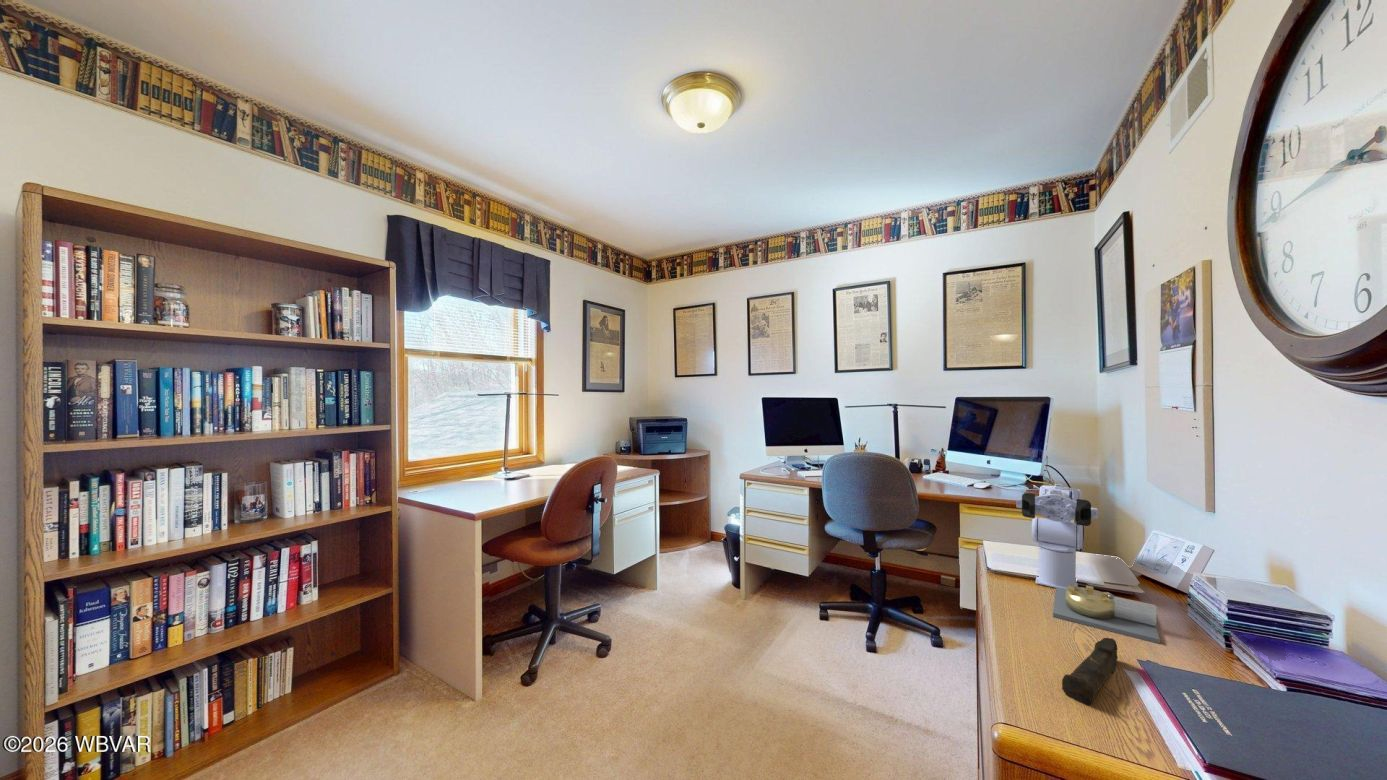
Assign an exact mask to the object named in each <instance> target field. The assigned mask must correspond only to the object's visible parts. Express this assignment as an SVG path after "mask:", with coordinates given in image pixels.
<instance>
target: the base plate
mask: <svg viewBox="0 0 1387 780" xmlns="http://www.w3.org/2000/svg"><path fill="white" fill-rule="evenodd" d="M1054 592H1055V593H1054V600H1053V601H1054V603H1053V609H1052V610H1053V611H1052V617H1053V618H1056V619H1060V620H1064V621H1065V620H1066V621H1068V622H1073V623H1077V624H1081V625H1085V626H1087V627H1093V628H1096V629H1101V630H1104V631H1108V632H1113V633H1116V634H1120V635H1124V636H1128V637H1132V638H1135V639H1138V640H1142V641H1143V640H1144V641H1148V642H1151V643H1155V644H1161V643H1160V642H1161V641H1160V635H1159V633H1158V632H1159V631H1158V629H1157V625H1156V626H1153V625H1149V624H1145V623H1141V622H1136V621H1132V620H1128V619H1124V618H1119V617H1114V618H1109V619H1102V618H1095V617H1090V616H1087V615H1083V614H1080V613H1078V612H1076V611H1074V610H1072V609H1070V608H1069V607H1067V605H1066V589H1063V588H1059V587H1056V588H1055V591H1054Z"/></svg>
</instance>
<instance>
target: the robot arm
mask: <svg viewBox="0 0 1387 780" xmlns="http://www.w3.org/2000/svg"><path fill="white" fill-rule="evenodd" d="M1038 494H1039V495H1038V496H1036V494H1035V493H1030V492H1025V493H1023V494H1022V495H1021V498H1019V497H1018V498H1016V500H1015V501H1016V502H1015V503H1016V508H1017V509H1021V514H1022V517H1025V518H1029V519H1032V520H1031V540H1032V541H1033V542H1034V543H1037V547H1038V570H1039V571H1038V570H1037V572H1038V576H1039V577H1037V576H1036V578H1035V584H1038V585H1041V586H1046V587H1050V588H1054V589H1056V587H1059V588H1063V589H1067V588H1068V585H1071V584H1072V585H1074V586H1077V587H1079V586H1078V585H1079V584H1078V583H1079V582H1078V583H1076V578H1077V576H1076V575H1077V574H1076V572H1077V571H1076V569H1077V568H1076V567H1077V565H1076V563H1077V562H1076V559H1077V557H1076V556H1077V554H1076V553H1077V550H1078V551H1081V549H1083V547H1084V546H1083V545H1084V544H1083V543H1084V539H1083V538H1084V537H1083V536H1084V534H1083V533H1084V531H1083V530H1084V527H1089V526H1091V523H1092V519H1097V520H1098V519H1099V517H1098V516H1099V511H1098V508H1096V507H1092V503H1091V502H1090V501H1089V500H1087V499H1083V492H1082V490H1081V489H1079V488H1073V487H1067V486H1064V485H1063V484H1059V483H1055V484H1054V485H1040V487H1039V492H1038ZM1036 515H1038V516H1040V517H1038V516H1036ZM1042 517H1043V518H1042ZM1071 521H1075V522H1071Z"/></svg>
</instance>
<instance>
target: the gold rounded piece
mask: <svg viewBox="0 0 1387 780" xmlns="http://www.w3.org/2000/svg"><path fill="white" fill-rule="evenodd" d="M1066 605H1067V607H1069V608H1070V609H1072V610H1074V611H1076V612H1078V613H1080V614H1083V615H1087V616H1090V617H1095V618H1102V619H1109V618H1114V617H1119V618H1124V619H1128V620H1132V621H1136V622H1141V623H1145V624H1149V625H1153V626H1156V627H1157V605H1156V604H1151V603H1148V602H1147V603H1146V602H1143V601H1138V600H1133V599H1128V598H1125V597H1124V598H1123V597H1120V596H1115V595H1114V594H1112V593H1110V592H1108V591H1101V590H1096V589H1094V586H1091V585H1085V587H1083V586H1078V587H1077V586H1074V585H1072V584H1071V585H1068V588H1067V589H1066Z"/></svg>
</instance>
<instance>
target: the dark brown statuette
mask: <svg viewBox="0 0 1387 780" xmlns="http://www.w3.org/2000/svg"><path fill="white" fill-rule="evenodd" d="M1118 658H1119V657H1118V644H1117V641H1116V640H1115V639H1113V638H1109V637H1103V638H1102V639H1100V640H1098V641H1097V642H1096V643H1095V644H1094V648H1093V650H1092V651H1091V652H1090V655H1088V656H1087V657H1086V658H1085V659H1084V660H1083V661H1082V662H1081V663H1080V664H1079V665H1077V667H1076V668H1075V669H1074V670H1073V671H1072V672H1071V673H1070V674H1068V673H1067V674H1064V675H1063V677H1062V680H1061V685H1062V687H1061V690H1062V691H1063V692H1064V694H1065V696H1067V698H1071V699H1073V700H1075V701H1076V702H1079V703H1082V704H1083V705H1084V704H1085V705H1091V704H1092V703H1093V701H1094V700H1093V699H1094V698H1095V696H1096V692H1097V691H1099V689H1100V688H1101V687H1102V685H1104V683H1105V682H1106V680H1107V678H1108V677H1109V676H1110V675H1113V674H1115V672H1116V669H1117V661H1118Z"/></svg>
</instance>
